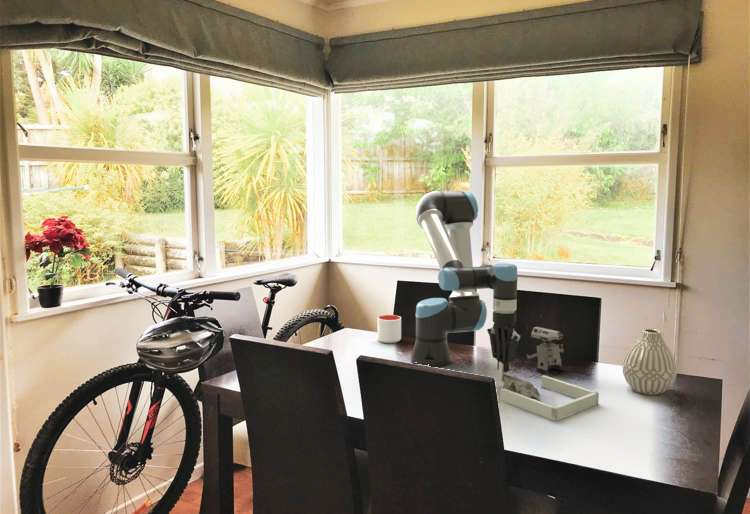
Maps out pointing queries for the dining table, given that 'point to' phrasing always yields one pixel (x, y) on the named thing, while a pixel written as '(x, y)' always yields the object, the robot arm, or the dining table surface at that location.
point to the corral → (581, 402)
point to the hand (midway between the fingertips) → (502, 380)
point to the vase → (649, 364)
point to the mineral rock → (520, 386)
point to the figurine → (547, 349)
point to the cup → (389, 328)
